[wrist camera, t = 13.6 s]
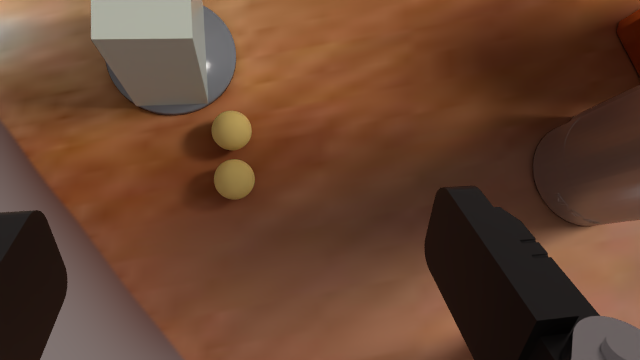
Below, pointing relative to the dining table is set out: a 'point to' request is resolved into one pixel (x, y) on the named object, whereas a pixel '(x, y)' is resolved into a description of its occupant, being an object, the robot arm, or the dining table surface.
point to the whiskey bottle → (631, 37)
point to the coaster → (217, 65)
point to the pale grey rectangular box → (154, 48)
